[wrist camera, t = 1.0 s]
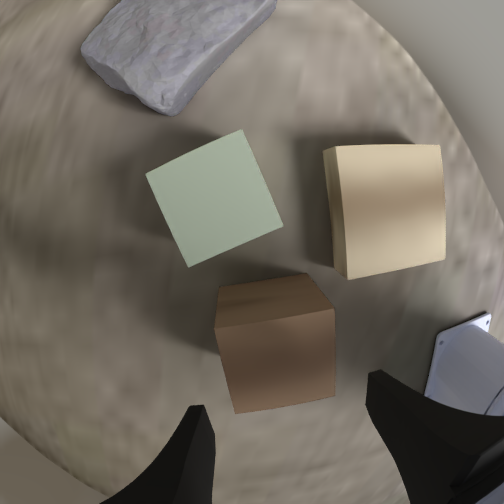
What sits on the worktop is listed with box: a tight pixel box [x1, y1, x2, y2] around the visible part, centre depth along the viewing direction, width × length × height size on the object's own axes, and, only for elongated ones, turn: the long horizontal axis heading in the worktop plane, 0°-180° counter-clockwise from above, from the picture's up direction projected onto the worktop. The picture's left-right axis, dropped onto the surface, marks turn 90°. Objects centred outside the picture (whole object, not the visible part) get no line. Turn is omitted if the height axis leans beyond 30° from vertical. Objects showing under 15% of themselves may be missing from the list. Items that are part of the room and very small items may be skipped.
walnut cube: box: [214, 273, 336, 414], centre depth 17 cm, size 6×6×6 cm
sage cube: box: [145, 129, 283, 268], centre depth 16 cm, size 5×5×5 cm
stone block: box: [80, 0, 277, 116], centre depth 14 cm, size 12×5×10 cm
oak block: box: [322, 144, 446, 280], centre depth 18 cm, size 8×8×3 cm
